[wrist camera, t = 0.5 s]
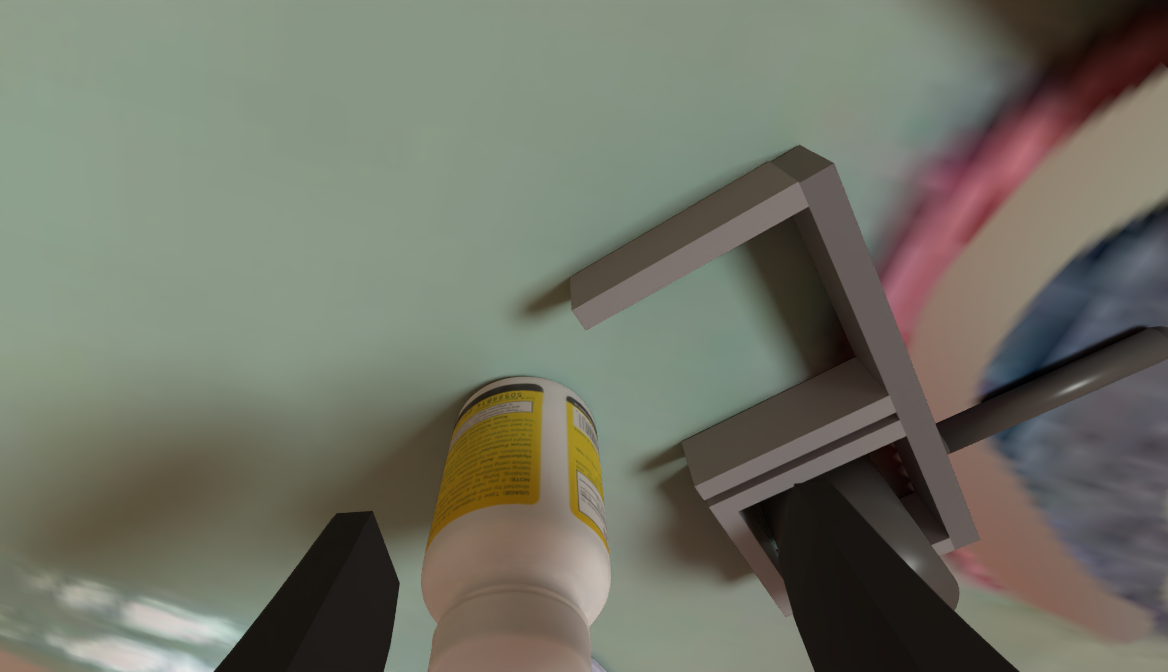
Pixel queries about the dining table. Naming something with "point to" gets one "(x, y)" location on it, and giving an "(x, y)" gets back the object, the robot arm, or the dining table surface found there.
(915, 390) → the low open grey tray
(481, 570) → the supplement bottle
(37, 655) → the dining table surface
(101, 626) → the dining table surface
